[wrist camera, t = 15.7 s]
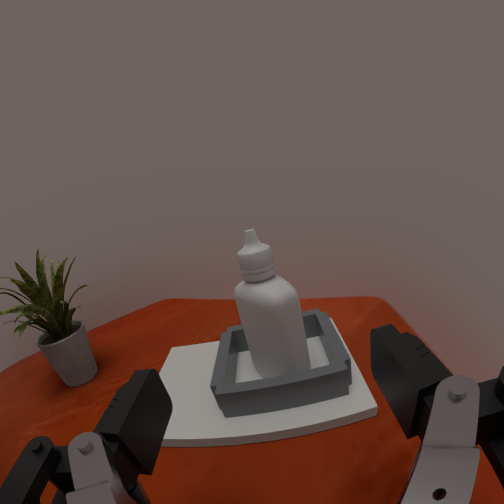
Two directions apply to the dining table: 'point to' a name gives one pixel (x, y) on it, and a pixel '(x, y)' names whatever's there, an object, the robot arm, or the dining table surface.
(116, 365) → the dining table surface
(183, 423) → the bottle holder
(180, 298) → the dining table surface
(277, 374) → the eye dropper bottle
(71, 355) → the house plant
